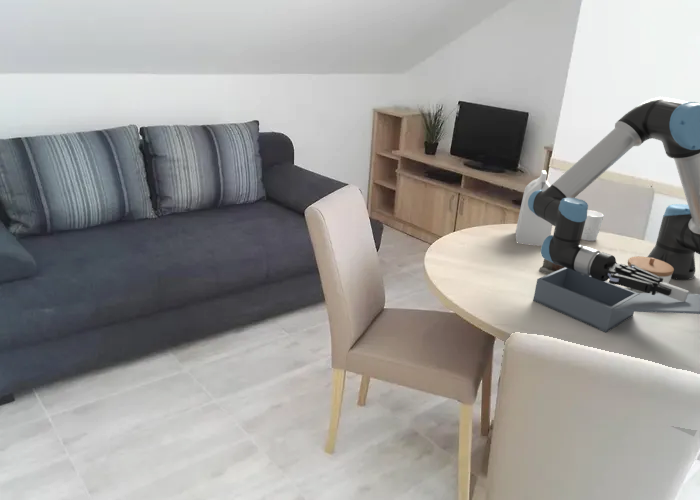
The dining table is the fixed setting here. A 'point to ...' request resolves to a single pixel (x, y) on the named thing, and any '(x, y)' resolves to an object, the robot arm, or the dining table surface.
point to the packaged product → (549, 267)
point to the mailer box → (583, 298)
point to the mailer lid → (661, 304)
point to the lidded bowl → (652, 268)
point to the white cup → (592, 225)
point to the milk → (532, 216)
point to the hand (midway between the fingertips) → (686, 296)
